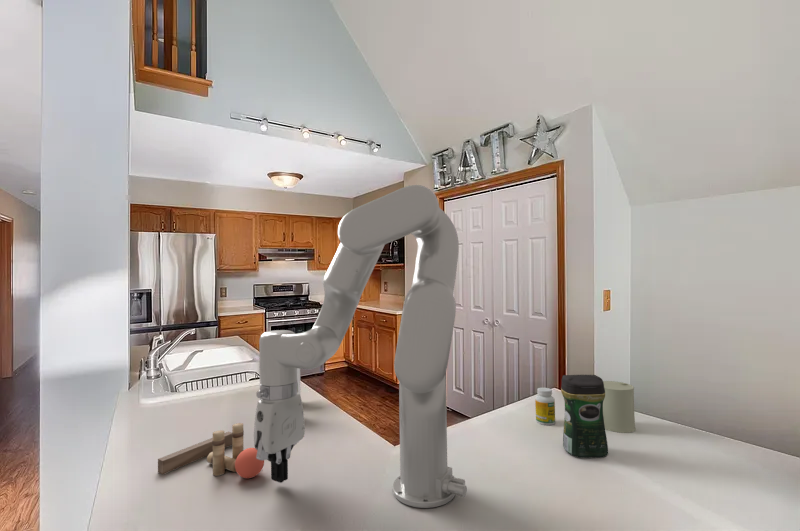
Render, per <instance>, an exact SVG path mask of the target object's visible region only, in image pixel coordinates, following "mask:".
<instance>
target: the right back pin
mask: <svg viewBox="0 0 800 531" xmlns="http://www.w3.org/2000/svg"><path fill="white" fill-rule="evenodd" d="M231 428H232V431H231V432H232V445H231V448H232V452H231V453H232V454H231V455H232V457H231V458H233V459H237V457H238V455H239V454H240V453H241V452H242V451H243V450H244V435H245V434H244V433H245V432H244V423H242V422H239V423H234V424H232V426H231Z"/></svg>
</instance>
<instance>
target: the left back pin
mask: <svg viewBox="0 0 800 531" xmlns="http://www.w3.org/2000/svg"><path fill="white" fill-rule="evenodd" d="M224 433H225V430H223V429H222V430H221V429H220V430H216V431H214V432H212V438H213V440H212V445H213V464H212V476H214V477H219V476H222V475H223V474H225V473H226V471H225V470H226V469H225V456H226V454H225V451H226V450H225V449H226V448H225V438H224Z"/></svg>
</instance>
